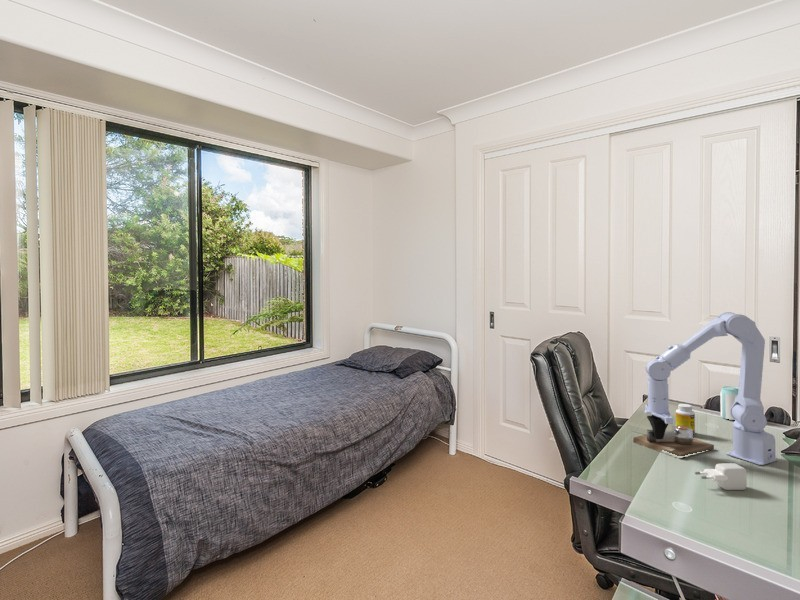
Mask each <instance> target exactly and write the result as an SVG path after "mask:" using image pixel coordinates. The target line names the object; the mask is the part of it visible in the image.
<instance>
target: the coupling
mask: <svg viewBox="0 0 800 600" xmlns="http://www.w3.org/2000/svg"><path fill="white" fill-rule="evenodd" d="M646 434H647V440H648V441H649V442H676V443H680V444H692V443H693V439H694V438H693V437H694V435H693V429H691V428H689V427H687V426H683V425H677V426H676V425H673V426H671V429H666V430H665V434H664V437H663V439H655V437H654V433H653V429H646Z"/></svg>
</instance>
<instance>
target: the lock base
mask: <svg viewBox="0 0 800 600" xmlns="http://www.w3.org/2000/svg"><path fill="white" fill-rule="evenodd" d="M632 439H633V440H632V441H633V443H635V444H638V445H640V446H643V447H646V448H649V449H651V450H655V451H657V452H660V451H662V450H664V451H667V452H669V453H672V454H675V455H677V456H685V455H688V454H693V453H697V452H702V451H706V450H711V451H713V450H712V449H714V450H715V445H714V444H711V443H709V442H705V441H702V440H699V439H697V438H693V443H692V444H680V443H676V442H649V441H648V440H647V433H646V434H642V435H639V436H635V437H633V438H632ZM660 453H661V452H660Z"/></svg>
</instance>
